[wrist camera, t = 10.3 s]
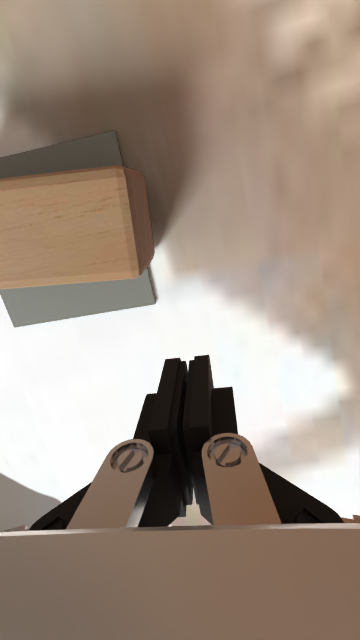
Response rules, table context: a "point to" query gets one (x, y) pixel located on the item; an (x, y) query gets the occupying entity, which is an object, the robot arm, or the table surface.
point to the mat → (76, 297)
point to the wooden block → (74, 227)
